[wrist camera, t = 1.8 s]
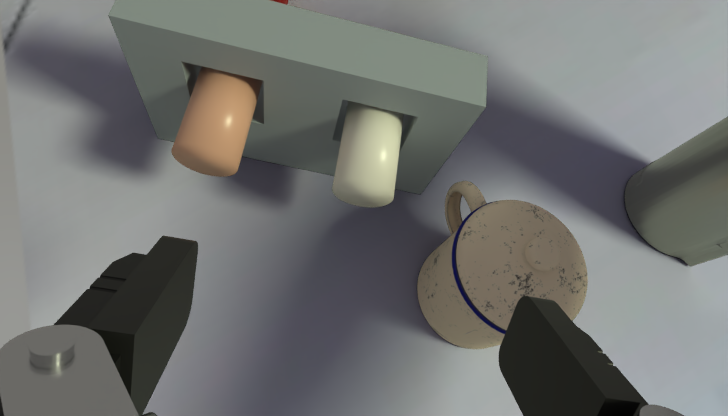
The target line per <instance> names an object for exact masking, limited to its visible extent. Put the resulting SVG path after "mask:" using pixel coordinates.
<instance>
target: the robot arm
mask: <svg viewBox="0 0 728 416" xmlns="http://www.w3.org/2000/svg"><path fill="white" fill-rule="evenodd" d="M625 205H626V210H627V213H628V216H629V218H630V220H631V222H632V224H633V226H634V227H635V229H636V230H637V231H638V233H639V234H640V235H641V236H642V237H643V238H644V239H645V240H646V241H647V242H648V243H649V244H650V245H652V246H653V247H654V248H656V249H657V250H659V251H661V252H663V253H665V254H667V255H670V256H674V257H678V258H681V259H682V260H683V261H685V262H686V263H687V264H688V265H689V266H694V265H697V264H700V263H703V262H707V261H710V260H713V259H716V258H719V257H722V256H725V255H728V117H726V118H724V119H723V120H721V121H720V122H718V123H716V124H715V125H713V126H711V127H710V128H708V129H707V130H705V131H703V132H702V133H700V134H698V135H697V136H695V137H694V138H692V139H690V140H689V141H687V142H685V143H684V144H682V145H681V146H679V147H677V148H676V149H674V150H672V151H671V152H669V153H668V154H666V155H664V156H663V157H661V158H659V159H658V160H656V161H654V162H652V163H650V164H649V165H647V166H646V167H645V168H643V169H642V170H640V171H638V172H637V173H636V174H634V175H633V176H632V177H631V178H630V180H629V181H628V183H627V186H626V189H625ZM197 254H198V243H197V241H192V240H186V239H180V238H174V237H168V236H162V237H161V238H160V239H159V241H158V242H157V243H156V244H155V245H154V247H153V248H152V249H151V250H150V252H149V253H148V254H147V255H144V254H138V253H132V254H129V255H127V256H125V257H123V258H121V259H119V260H116V261H114V262H113V263H112V264H111V265H110V266H109V267H108V268H107V269H106V270H105V271H104V272H103V273H102V274H101V276H100V278H97V279H96V281H95V282H94V283H93V284H92V285H91V286H90V289H87V290H86V291H85V292H84V293H83V294H82V295H81V296H80V297H79V299H78V300H77V301H76V302H75V303H74V304H73V305H72V306H71V307H70V308H69V309H68V310H67V311H66V312H65V313H64V314H63V315H62V317H61V318H60V319H59V320H58V321H57V322H56V323H55V324H54V325H52V326H46V327H41V328H37V329H34V330H31V331H28V332H25V333H23V334H21V335H19V336H17V337H15V338H14V339H12V340H10V341H9V342H8V343H6V344H5V345H4V346H3V347H2V348H1V349H0V416H157V415H156V414H155V413H153V412H149V413H147V414H144V415H142V414H143V412H144V410H145V408H146V406H147V404H148V402H149V400H150V398H151V396H152V394H153V392H154V390H155V388H156V385H157V383H158V381H159V379H160V377H161V375H162V373H163V371H164V369H165V367H166V365H167V363H168V361H169V359H170V357H171V355H172V353H173V351H174V349H175V347H176V345H177V343H178V341H179V339H180V337H181V335H182V332H183V330H184V328H185V326H186V324H187V321H188V317H189V314H190V310H191V305H192V298H193V289H194V280H195V272H196V263H197ZM602 352H603V351H602V350H601V348H600V347H599V346H598V345H597V344H596V343H595V342H594V340H593V339H592V338H591V337H590V336H589V335H588V334H586V333H585V332H584V331H582V330H581V329H580V328H578V327H577V326H576V325H575V324H574V323H573V322H572V320H571V319H570V318H569V317H568V316H567V314H566V313H565V312H564V311H563V310H562V309H561V307H560V306H559V305H558V304H557V303H556V302H555V301H553V300H548V299H542V298H536V297H530V296H523V297H521V298H520V299H519V301H518V302H517V305H516V307H515V310H514V312H513V315H512V317H511V320H510V323H509V325H508V328H507V330H506V333H505V335H504V338H503V341H502V343H501V346H500V350H499V366H500V370H501V372H502V374H503V376H504V378H505V380H506V382H507V384H508V386H509V388H510V390H511V392H512V394H513V396H514V398H515V400H516V402H517V404H518V406H519V408H520V410H521V412H522V414H523V416H684V415H682V414H680V413H678V412H676V411H674V410H671V409H669V408H666V407H662V406H658V405H649V404H648V403H647V402H646V401H645V400H644V399H643V397H642V396H641V395H640V394H639V393H638V392H637V390H636V389H635V388H634V387H633V386H632V385H631V383H630V382H629V381H628V380H627V379H626V378H625V376H624V375H623V374H622V373H621V372H620V371H619V369H618V368H617V367H616V366H613V362H612V361H611V360H610V359H609V358H608V357H607V355H606V354H603V353H602Z"/></svg>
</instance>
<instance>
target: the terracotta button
mask: <svg viewBox="0 0 728 416" xmlns="http://www.w3.org/2000/svg"><path fill="white" fill-rule="evenodd" d="M262 82H263V80H259V79H254V78H250V77H246V76H242V75H237V74H233V73H229V72H225V71H220V70H216V69H212V68H208V67H203V66H201V69H200V72H199V75H198V78H197V80H196V83H195V86H194V89H193V92H192V94H191V97H190V100H189V103H188V106H187V108H186V111H185V114H184V117H183V120H182V122H181V125H180V128H179V131H178V134H177V136H176V139H175V142H174V145H173V147H172V155H173V156H174V158H175V159H176V160H177V161H178V162H179V163H181V164H182V165H184V166H185V167H187V168H189V169H191V170H194V171H196V172H199V173H202V174H206V175H210V176H218V177H225V176H231V175H233V174H235V173H236V172H237V170H238V167H239V164H240V160H241V157H242V153H243V150H244V146H245V142H246V139H247V135H248V132H249V128H250V125H251V121H252V118H253V114H254V111H255V107H256V104H257V100H258V96H259V93H260V89H261V86H262Z"/></svg>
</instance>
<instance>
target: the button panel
mask: <svg viewBox="0 0 728 416" xmlns="http://www.w3.org/2000/svg"><path fill="white" fill-rule="evenodd" d="M108 16H109V18H110V21H111V23H112V26H113V28H114V31H115V33H116V36H117V38H118V41H119V43H120V46H121V48H122V51H123V53H124V55H125V58H126V60H127V63H128V65H129V68H130V70H131V73H132V75H133V78H134V80H135V83H136V85H137V88H138V90H139V93H140V95H141V98H142V100H143V102H144V105H145V107H146V110H147V112H148V115H149V117H150V120H151V122H152V125H153V127H154V130H155V132H156V135H157V137H158V138H159V139H163V140H168V141H173V142H175V139H176V136H177V134H178V131H179V128H180V125H181V122H182V120H183V117H184V114H185V111H186V108H187V106H188V103H189V100H190V97H191V94H192V92H193V89H194V86H195V83H196V80H197V78H198V75H199V72H200V69H201V66H203V67H208V68H212V69H216V70H220V71H225V72H229V73H233V74H237V75H242V76H246V77H250V78H254V79H259V80H263V82H262V86H261V89H260V93H259V96H258V100H257V104H256V107H255V111H254V114H253V118H252V121H251V125H250V128H249V132H248V135H247V139H246V142H245V146H244V150H243V153H242V156H243V157H248V158H252V159H257V160H262V161H266V162H271V163H276V164H280V165H285V166H290V167H294V168H299V169H304V170H309V171H313V172H318V173H323V174H327V175H332V176H335V171H336V165H337V160H338V154H339V149H340V143H341V138H342V132H343V127H344V121H345V116H346V110H347V105H348V101H352V102H356V103H361V104H365V105H369V106H373V107H378V108H382V109H386V110H390V111H395V112H399V113H403V114H404V116H403V125H402V133H401V141H400V150H399V158H398V166H397V175H396V183H395V189H397V190H402V191H407V192H412V193H416V194H421V193H422V192H423V191H424V189H425V188H426V187H427V185H428V184H429V183H430V181H431V180H432V179H433V177H434V176H435V175H436V173H437V172H438V171H439V169H440V168H441V167H442V165H443V164H444V163H445V161H446V160H447V159H448V157H449V156H450V155H451V153H452V152H453V151H454V149H455V148H456V147H457V145H458V144H459V143H460V141H461V140H462V139H463V137H464V136H465V135H466V133H467V132H468V131H469V129H470V128H471V127H472V125H473V124H474V123H475V121H476V120H477V119H478V117H479V116H480V115H481V113H482V112H483V111H484V109H485V108H486V95H487V64H488V56H484V55H481V54H477V53H473V52H469V51H465V50H461V49H457V48H453V47H449V46H446V45H442V44H438V43H434V42H430V41H426V40H422V39H418V38H414V37H411V36H407V35H403V34H399V33H395V32H391V31H387V30H383V29H380V28H376V27H372V26H368V25H364V24H360V23H356V22H352V21H348V20H345V19H341V18H337V17H333V16H329V15H325V14H321V13H317V12H314V11H310V10H306V9H302V8H298V7H294V6H290V5H286V4H282V3H279V2H275V1H271V0H116V1H115V3H114V5H113V7H112V9H111V11H110V13H109V15H108Z"/></svg>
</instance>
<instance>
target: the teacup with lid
mask: <svg viewBox="0 0 728 416" xmlns="http://www.w3.org/2000/svg"><path fill="white" fill-rule="evenodd" d="M462 196H463V197H464V198H465V200H466V201H467V203H468V205H469V208H470V210H471V213H470V214H469V215H468V216H467V217H466V218H465V219H464V221H462V218H461V213H460V202H461V198H462ZM445 216H446V221H447V225H448V228H449V230H450V233H451V236H450V237H449V238H448V239H447V240H446V241H444V242H443V243H442V244H441V245H440V246H439V247H438V248H437V249H436V250H434V251H433V252H432V253H431V254H430V255H429V256H428V258H427V259H426V260H425V262H424V264H423V266H422V268H421V270H420V273H419V277H418V284H417V292H418V300H419V304H420V307H421V310H422V312H423V315H424V316H425V318H426V320H427V321H428V323H429V324H430V326H431V327H432V328H433V329H434V330H435V331H436V332H437V333H438V334H439V335H440V336H441V337H442V338H444V339H445V340H447V341H448V342H450V343H452V344H454V345H456V346H459V347H463V348H468V349H484V348H488V347H492V346H496V345H501V343H502V341H503V338H504V335H505V333H506V330H507V328H508V325H509V323H510V320H511V317H512V315H513V312H514V310H515V307H516V305H517V302H518V301H519V299H520V298H521V297H523V296H530V297H536V298H542V299H548V300H553V301H555V302H556V303H557V304H558V305H559V306H560V307H561V309H562V310H563V311H564V312H565V313H566V314H567V316H568V317H569V318H570V319H571V320H572V321H573V320H574V318H575V317H576V316H577V314H578V313H579V311H580V309H581V308H582V305H583V303H584V300H585V296H586V291H587V269H586V264H585V260H584V257H583V254H582V251H581V249H580V247H579V245H578V243H577V241H576V240H575V238H574V237H573V235H572V234H571V232H570V231H569V230H568V229H567V227H566V226H565V225H564V224H563V223H562V222H561V221H560V220H559V219H557V218H556V217H555V216H554V215H552V214H551V213H549V212H548V211H546V210H544V209H543V208H540V207H538V206H536V205H533V204H531V203H527V202H523V201H518V200H501V201H495V202H491V203H488V204H487V203H486V201H485V199H484V197H483V195H482V193H481V192H480V190H479V189H478V188H477V187H476V186H475V185H474V184H473V183H471V182H468V181H462V182H458V183H455V184H454V185H452V186H451V188H450V189H449V191H448V193H447V196H446V200H445Z"/></svg>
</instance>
